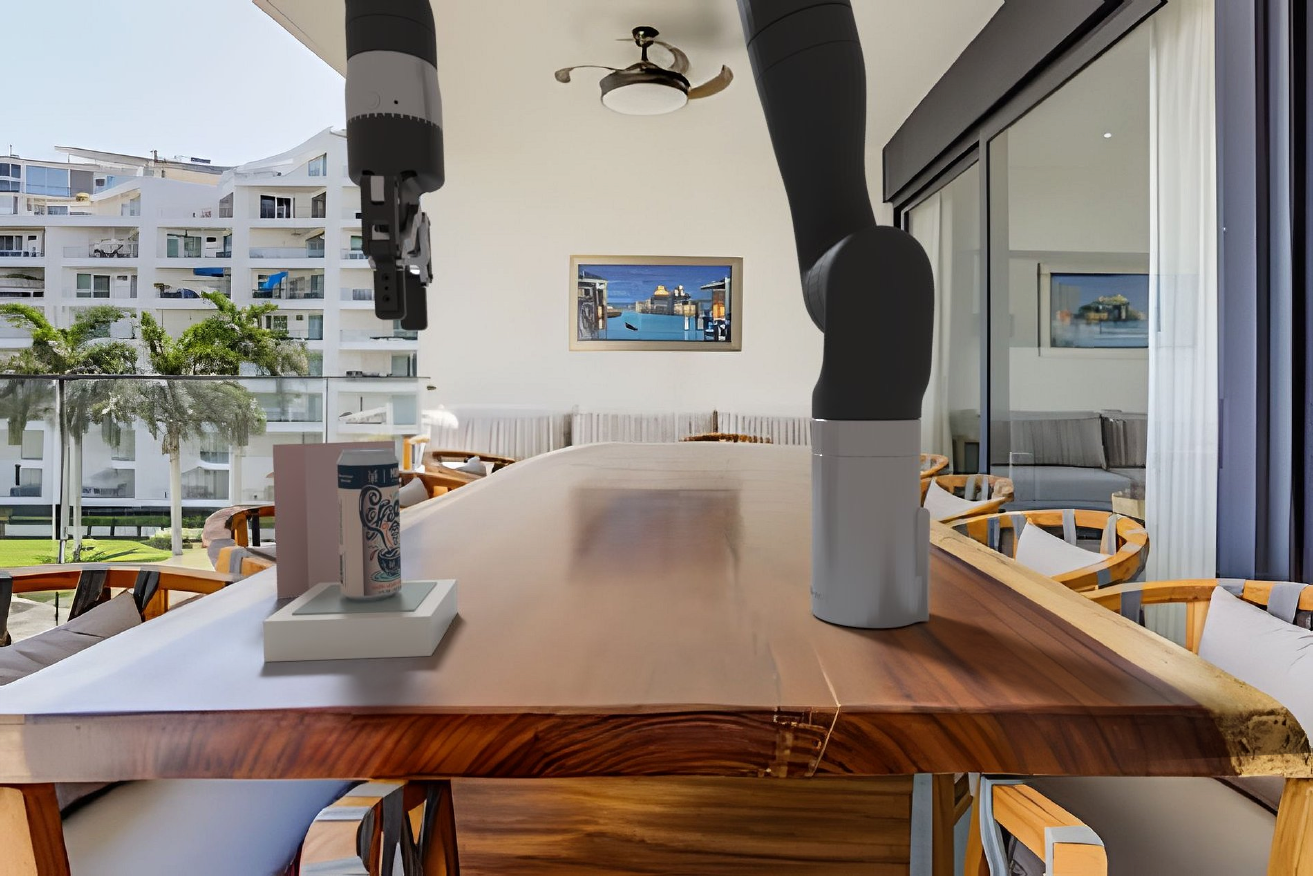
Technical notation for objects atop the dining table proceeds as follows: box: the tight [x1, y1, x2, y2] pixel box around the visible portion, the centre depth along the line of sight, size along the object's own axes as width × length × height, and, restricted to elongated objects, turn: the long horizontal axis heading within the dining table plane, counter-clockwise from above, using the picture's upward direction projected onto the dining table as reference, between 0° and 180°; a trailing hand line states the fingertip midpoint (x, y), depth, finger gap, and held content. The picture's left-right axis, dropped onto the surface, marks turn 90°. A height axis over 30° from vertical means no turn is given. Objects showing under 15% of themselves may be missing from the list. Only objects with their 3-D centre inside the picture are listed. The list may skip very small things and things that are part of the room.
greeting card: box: [272, 440, 396, 599], centre depth 75 cm, size 11×7×15 cm, turn 121°
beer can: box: [336, 448, 402, 602], centre depth 63 cm, size 5×5×12 cm
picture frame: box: [262, 578, 459, 663], centre depth 63 cm, size 12×12×3 cm
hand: (403, 325), depth 64 cm, fingers open, 8 cm apart
